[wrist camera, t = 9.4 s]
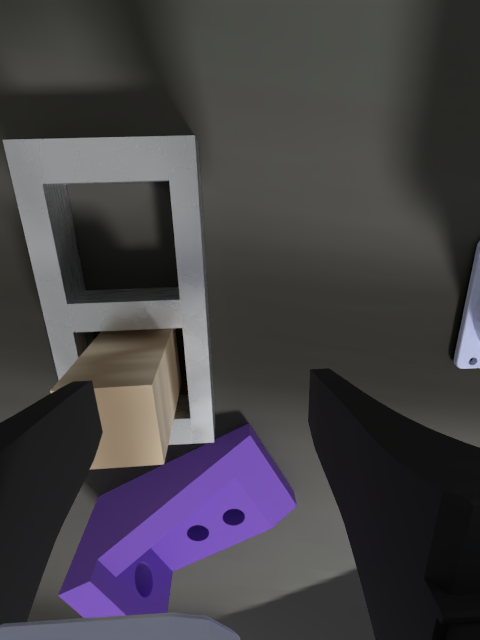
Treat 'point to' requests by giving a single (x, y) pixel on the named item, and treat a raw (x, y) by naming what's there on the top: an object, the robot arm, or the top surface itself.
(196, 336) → the grey rectangular frame
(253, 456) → the bracket
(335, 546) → the top surface
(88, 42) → the top surface
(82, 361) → the peg
